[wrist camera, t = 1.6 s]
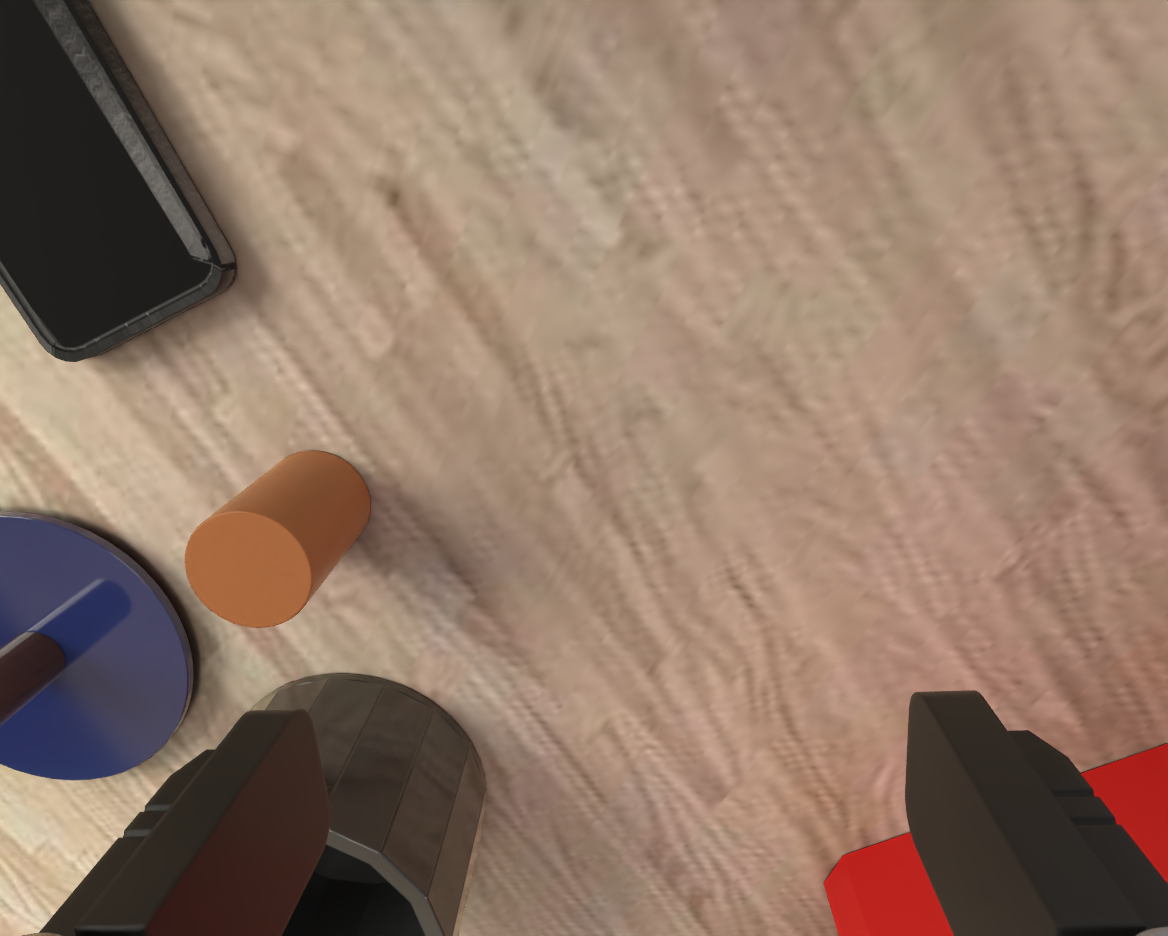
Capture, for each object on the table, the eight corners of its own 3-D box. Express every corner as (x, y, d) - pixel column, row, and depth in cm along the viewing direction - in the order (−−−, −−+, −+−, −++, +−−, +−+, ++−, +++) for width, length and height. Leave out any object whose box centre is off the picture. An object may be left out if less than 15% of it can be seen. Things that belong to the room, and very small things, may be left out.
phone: (-37, -183, 24) (234, 282, 28) (-9, -167, 25) (248, 278, 29) (-229, -52, 25) (56, 373, 29) (-195, -42, 26) (76, 367, 30)
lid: (-121, 686, 36) (-258, 776, 30) (-52, 450, 32) (-194, 504, 26) (146, 806, 37) (63, 913, 32) (243, 595, 34) (168, 675, 28)
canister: (193, 818, 38) (77, 988, 29) (287, 628, 34) (183, 762, 26) (419, 920, 39) (366, 1109, 31) (532, 747, 35) (505, 910, 27)
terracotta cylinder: (251, 517, 32) (166, 591, 26) (290, 431, 31) (209, 488, 25) (346, 565, 33) (283, 649, 27) (388, 481, 32) (332, 550, 26)
